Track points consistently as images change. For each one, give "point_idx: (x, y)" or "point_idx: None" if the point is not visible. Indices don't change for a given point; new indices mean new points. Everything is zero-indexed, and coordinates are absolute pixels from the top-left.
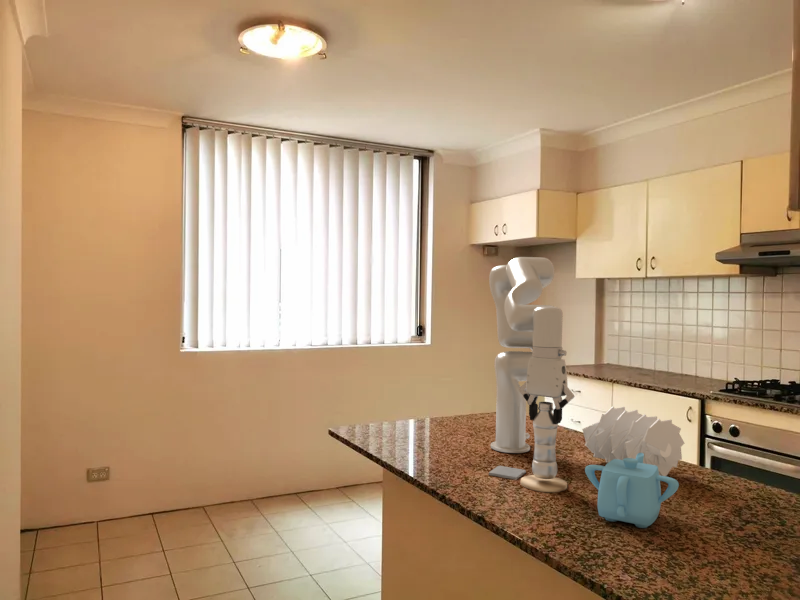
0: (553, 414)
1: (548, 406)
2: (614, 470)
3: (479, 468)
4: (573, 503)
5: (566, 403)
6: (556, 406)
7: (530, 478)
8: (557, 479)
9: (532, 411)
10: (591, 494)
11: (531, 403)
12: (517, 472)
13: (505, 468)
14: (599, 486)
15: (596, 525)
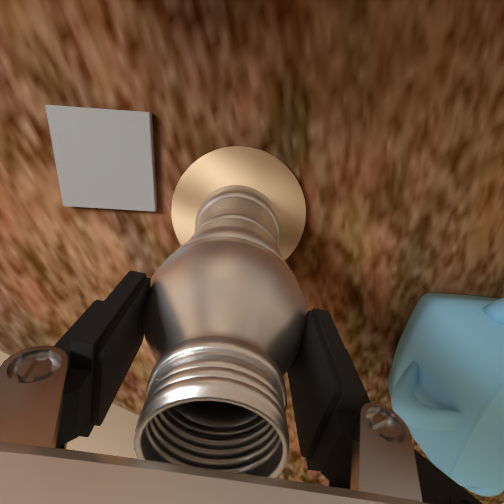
0: (296, 418)
1: (254, 465)
2: (481, 474)
3: (4, 147)
4: (330, 313)
5: (449, 494)
6: (334, 485)
7: (195, 205)
8: (271, 173)
9: (117, 386)
10: (370, 231)
11: (66, 442)
12: (137, 158)
13: (83, 131)
14: (417, 442)
15: (377, 396)
